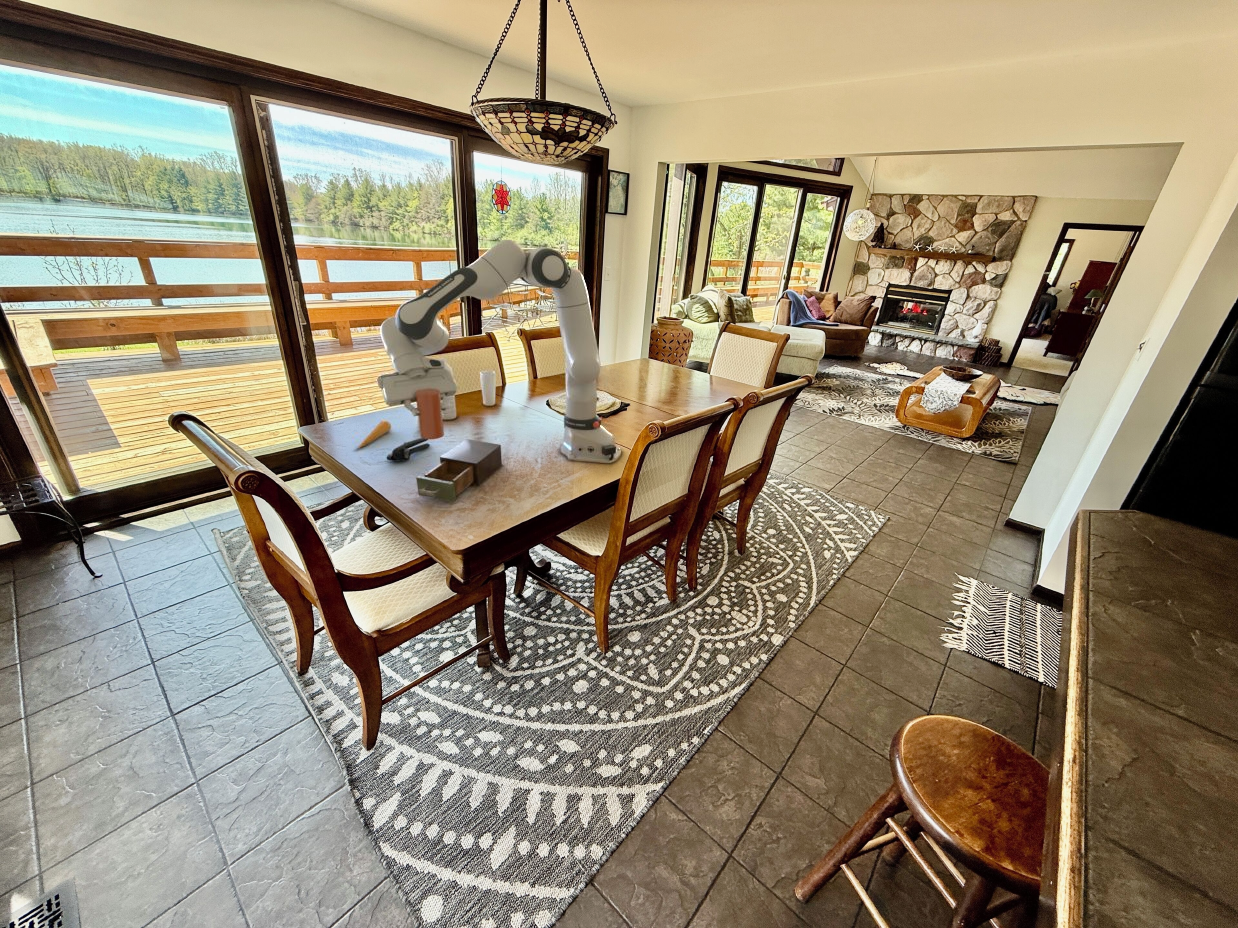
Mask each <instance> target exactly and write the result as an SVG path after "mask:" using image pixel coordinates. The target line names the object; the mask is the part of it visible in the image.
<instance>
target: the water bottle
mask: <svg viewBox="0 0 1238 928" xmlns="http://www.w3.org/2000/svg"><path fill="white" fill-rule="evenodd" d="M439 360H441V361H443V362H444V364H445V367H444V369H447V370H448V371H449V372H450V373H451V375H452V376H453V377H454V375H453V374H454V373H453V369H452V367H451V365H450V364H449V363H448V361H447V359H446V357H440V358H439ZM455 394H456V393H455ZM455 394H454V395H453V396H447V397H446V400H445V405H446V407H447V409H446V410H445V411H442V418H443V421H444V420H445V421H448V420H449V421H450V420H454V419H456V418H457V407H456V405H457V404H456V395H455ZM441 401H442V400H441Z"/></svg>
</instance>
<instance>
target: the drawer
mask: <svg viewBox="0 0 1238 928" xmlns="http://www.w3.org/2000/svg"><path fill="white" fill-rule="evenodd" d="M415 479H416V486H417V494H418V496H422V497H426V498H431V499H437V500H442V501H445V502H451V503H455V501H457V496H459V495H460V494H461V493H462V492H463V491H464V490H465V489H467V488H468V487H470V485H471V483H473V482H474V481H475V468H474V465H468V464H463V463H457V462H452V461H446V460H445V461H443V462H442V463H441V464H440V463H439V464H437V465H436V466H435V467H434V468H431V470H429V471H427V472H426V473H424V475H423V476H422V475H418V476H416V477H415Z"/></svg>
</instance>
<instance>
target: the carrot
mask: <svg viewBox="0 0 1238 928" xmlns="http://www.w3.org/2000/svg"><path fill="white" fill-rule="evenodd" d="M391 428H392V424H391V423H390V422H389V421H388V420H387V421H386V420H381V421H380V422H379V423H378V424H377V426H375V428H374V429H373V430H372V431H371V432H370V433H369V434H368V435H367V436H366V438H365V439H364V440H363V441H362V442H361V444H359V446H358V448H357V450H359V449H361V448H363V447H365V446H367V445H369V444H370V443H372V442H373V441H375V440H377V439H378V438H380V437H382V436H384V435H385V434H387V433H388V432H389V431H390V430H391Z"/></svg>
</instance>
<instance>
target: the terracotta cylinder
mask: <svg viewBox="0 0 1238 928" xmlns="http://www.w3.org/2000/svg"><path fill="white" fill-rule="evenodd" d="M415 395H416V402H415V403H416V408H418V409H419V411H420V414H419V416H417V418H418V427H419V436H420V438H424V439H428V440H437V439H441V438H442V437H444V436H445V429H444V419H443V418H442V408H441V398H440V391H439V390H437V389H431V388H428V389H422V390H417V391H416V392H415Z"/></svg>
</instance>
